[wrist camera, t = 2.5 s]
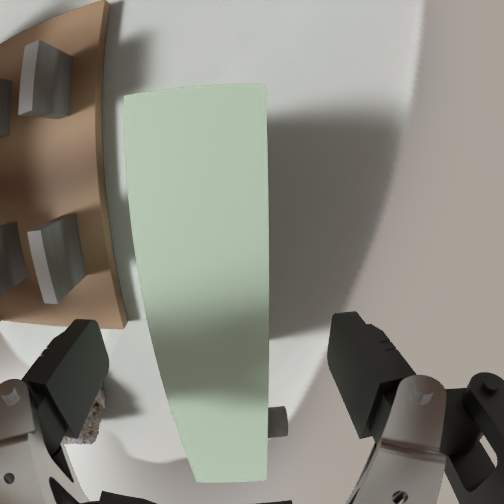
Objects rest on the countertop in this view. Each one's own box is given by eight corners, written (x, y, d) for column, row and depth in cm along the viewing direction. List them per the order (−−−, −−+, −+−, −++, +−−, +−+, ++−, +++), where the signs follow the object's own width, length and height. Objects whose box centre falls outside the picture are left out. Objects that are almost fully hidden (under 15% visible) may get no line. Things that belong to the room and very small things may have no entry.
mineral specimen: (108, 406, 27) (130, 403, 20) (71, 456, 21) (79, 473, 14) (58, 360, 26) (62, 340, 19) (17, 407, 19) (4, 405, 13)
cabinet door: (190, 132, 16) (123, 95, 5) (261, 129, 16) (312, 85, 5) (207, 344, 20) (196, 481, 10) (264, 341, 20) (289, 477, 10)
